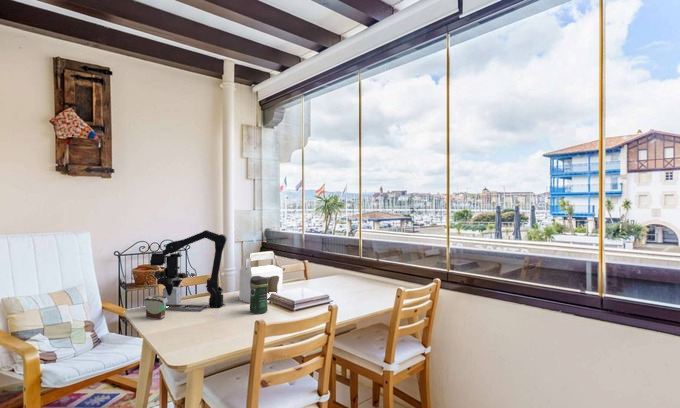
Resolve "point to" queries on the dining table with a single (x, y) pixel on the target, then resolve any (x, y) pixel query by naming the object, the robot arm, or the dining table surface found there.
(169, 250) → the robot arm
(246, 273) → the gable box
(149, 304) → the food container
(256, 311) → the coffee jar
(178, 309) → the rail
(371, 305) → the dining table surface
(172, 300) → the medicine box
